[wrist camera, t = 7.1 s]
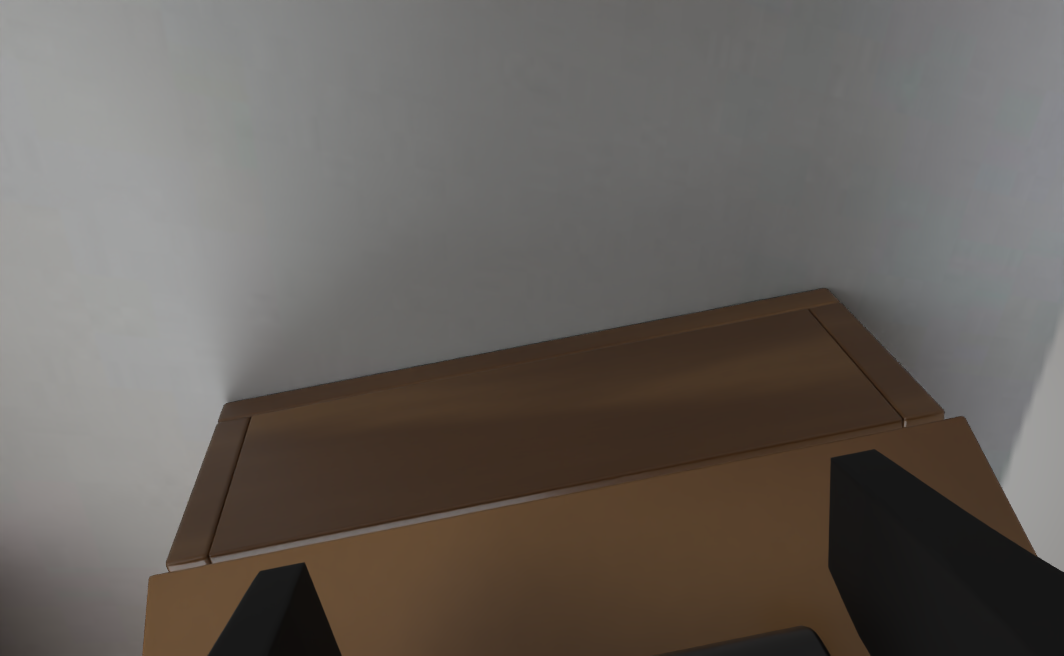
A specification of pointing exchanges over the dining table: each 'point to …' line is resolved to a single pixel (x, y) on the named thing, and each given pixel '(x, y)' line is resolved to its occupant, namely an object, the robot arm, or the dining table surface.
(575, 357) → the wooden tray
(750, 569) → the brown box
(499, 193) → the dining table surface
